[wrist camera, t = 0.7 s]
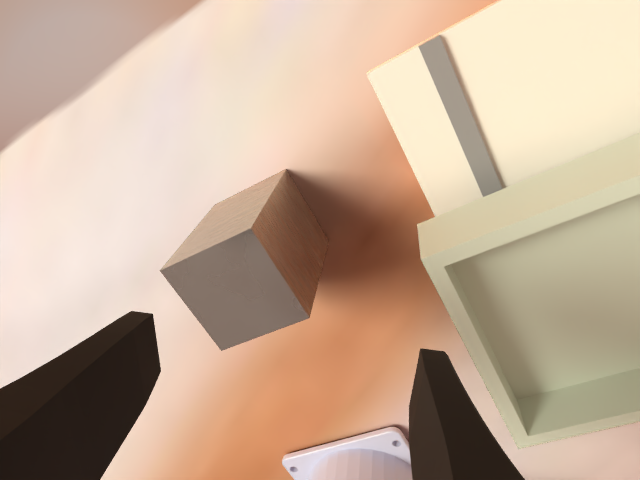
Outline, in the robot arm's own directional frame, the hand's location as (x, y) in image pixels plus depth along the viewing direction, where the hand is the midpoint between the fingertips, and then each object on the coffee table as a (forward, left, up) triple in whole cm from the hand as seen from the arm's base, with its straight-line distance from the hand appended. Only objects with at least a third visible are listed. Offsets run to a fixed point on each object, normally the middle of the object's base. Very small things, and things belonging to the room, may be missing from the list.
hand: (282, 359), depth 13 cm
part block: (0, +3, -10) cm, 11 cm away
